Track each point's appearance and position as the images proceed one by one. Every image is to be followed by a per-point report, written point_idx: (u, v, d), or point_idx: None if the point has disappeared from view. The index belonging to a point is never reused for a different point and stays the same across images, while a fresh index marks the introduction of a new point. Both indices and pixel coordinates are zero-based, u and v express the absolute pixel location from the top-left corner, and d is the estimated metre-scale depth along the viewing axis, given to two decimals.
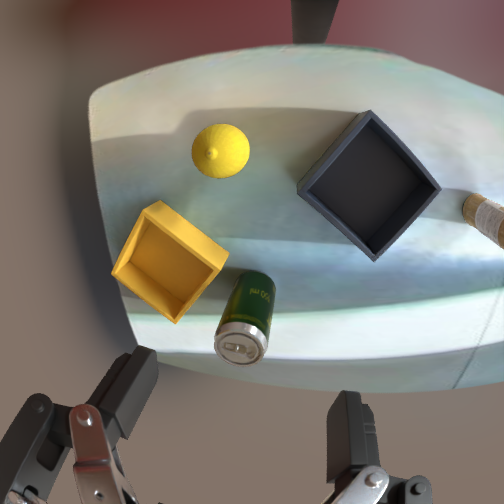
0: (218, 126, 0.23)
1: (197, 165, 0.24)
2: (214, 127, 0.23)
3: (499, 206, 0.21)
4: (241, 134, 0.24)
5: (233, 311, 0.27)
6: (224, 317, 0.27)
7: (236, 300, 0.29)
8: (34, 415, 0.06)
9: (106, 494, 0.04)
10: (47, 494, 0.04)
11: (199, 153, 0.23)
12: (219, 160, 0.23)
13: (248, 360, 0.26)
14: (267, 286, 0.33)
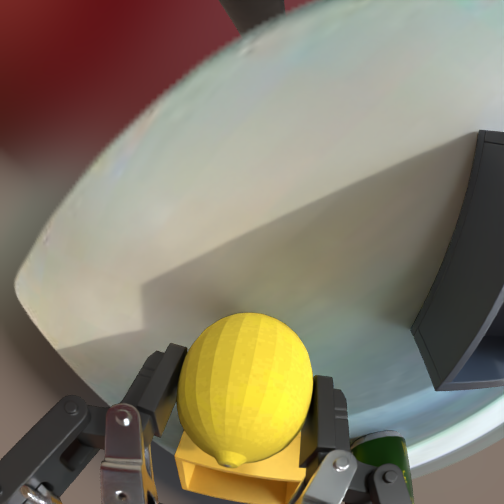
0: (207, 378, 0.08)
1: None
2: (199, 386, 0.08)
3: None
4: (274, 358, 0.09)
5: None
6: None
7: None
8: (66, 417, 0.06)
9: (130, 496, 0.04)
10: (63, 491, 0.05)
11: (205, 452, 0.08)
12: (257, 459, 0.08)
13: None
14: (396, 457, 0.15)
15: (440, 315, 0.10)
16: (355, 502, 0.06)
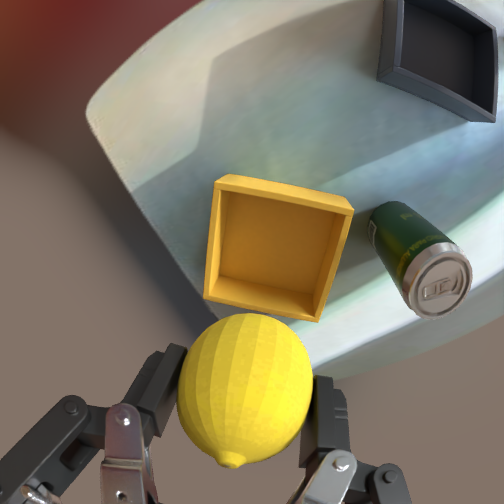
0: (207, 379, 0.08)
1: None
2: (199, 387, 0.08)
3: None
4: (274, 359, 0.09)
5: (408, 243, 0.16)
6: (401, 257, 0.16)
7: (397, 234, 0.18)
8: (66, 416, 0.06)
9: (130, 496, 0.04)
10: (62, 491, 0.05)
11: (205, 452, 0.08)
12: (257, 459, 0.08)
13: (456, 298, 0.14)
14: (410, 209, 0.21)
15: (384, 55, 0.17)
16: (355, 502, 0.06)
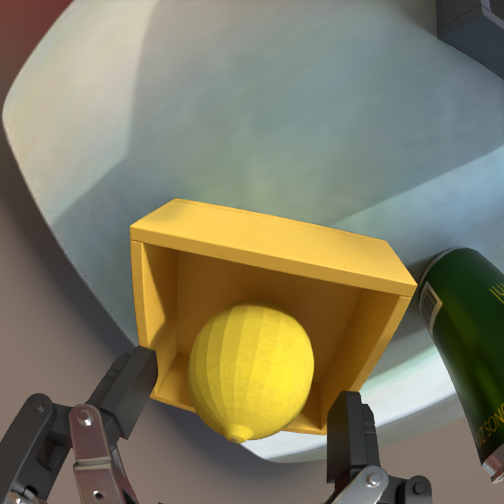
0: (217, 355, 0.09)
1: None
2: (209, 363, 0.09)
3: None
4: (278, 337, 0.10)
5: None
6: (501, 403, 0.05)
7: (493, 339, 0.07)
8: (34, 415, 0.06)
9: (106, 494, 0.04)
10: (47, 494, 0.04)
11: (213, 429, 0.09)
12: (263, 434, 0.09)
13: None
14: (494, 267, 0.10)
15: None
16: None
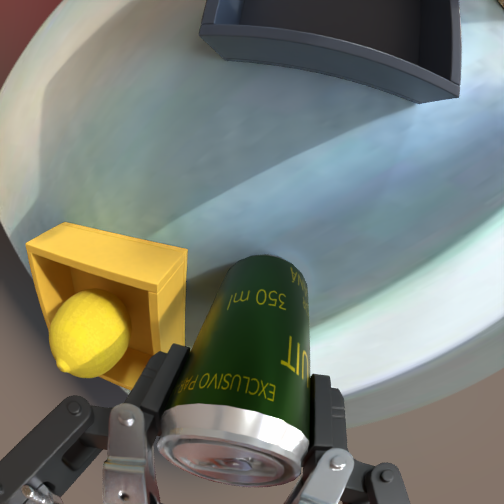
0: (56, 317, 0.14)
1: None
2: (53, 321, 0.14)
3: None
4: (86, 310, 0.14)
5: (184, 371, 0.09)
6: (172, 391, 0.09)
7: (197, 338, 0.11)
8: (69, 417, 0.06)
9: (132, 496, 0.04)
10: (64, 490, 0.05)
11: None
12: (76, 370, 0.13)
13: (270, 478, 0.07)
14: (272, 274, 0.14)
15: None
16: (353, 501, 0.06)
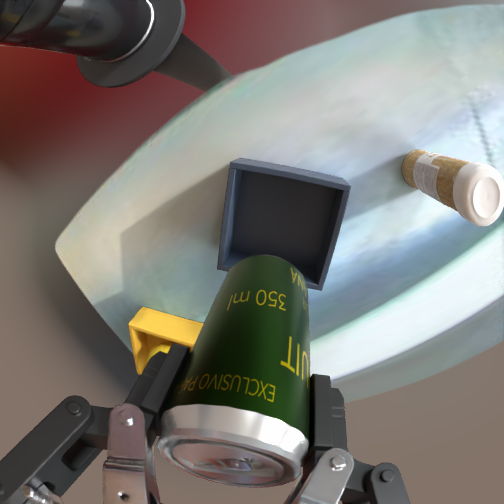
0: None
1: None
2: None
3: (431, 159, 0.20)
4: None
5: (184, 371, 0.09)
6: None
7: (197, 339, 0.11)
8: (69, 417, 0.06)
9: (132, 496, 0.04)
10: (64, 490, 0.05)
11: None
12: None
13: (270, 479, 0.07)
14: (272, 275, 0.14)
15: None
16: (353, 501, 0.06)
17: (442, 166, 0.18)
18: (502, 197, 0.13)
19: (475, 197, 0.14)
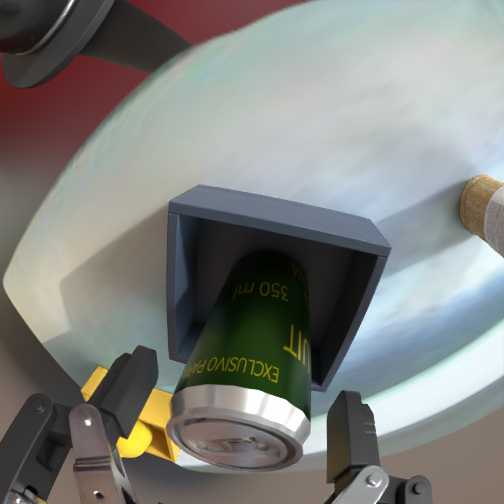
0: None
1: None
2: None
3: None
4: None
5: (193, 357, 0.10)
6: (181, 377, 0.10)
7: (204, 328, 0.12)
8: (34, 415, 0.06)
9: (106, 494, 0.04)
10: (47, 494, 0.04)
11: None
12: (127, 456, 0.22)
13: (273, 461, 0.08)
14: (275, 269, 0.15)
15: None
16: None
17: None
18: None
19: None
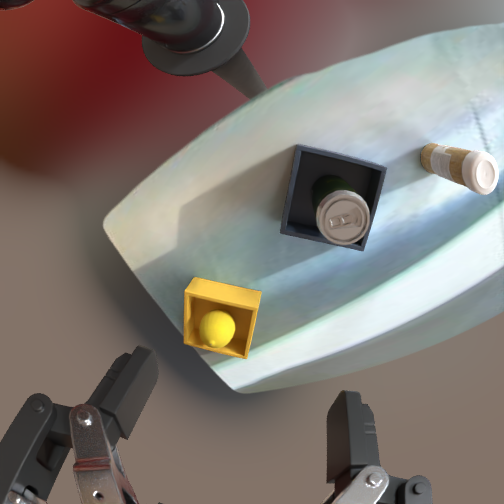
0: (207, 323, 0.40)
1: None
2: (205, 324, 0.40)
3: (444, 149, 0.25)
4: (222, 319, 0.41)
5: (322, 194, 0.27)
6: (317, 203, 0.27)
7: (319, 191, 0.29)
8: (34, 415, 0.06)
9: (106, 494, 0.04)
10: (47, 494, 0.04)
11: (205, 343, 0.40)
12: (218, 344, 0.39)
13: (359, 229, 0.25)
14: (338, 178, 0.32)
15: None
16: None
17: (453, 154, 0.23)
18: (496, 174, 0.19)
19: (477, 173, 0.19)
